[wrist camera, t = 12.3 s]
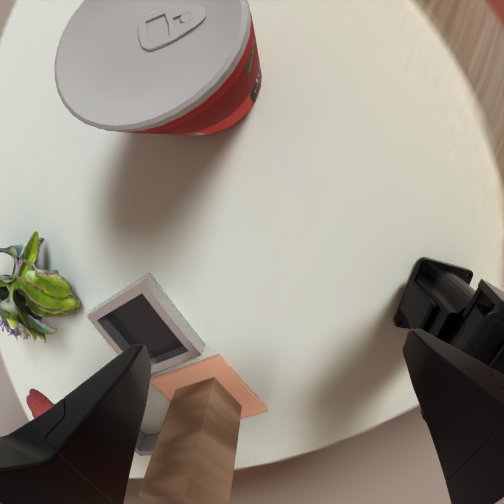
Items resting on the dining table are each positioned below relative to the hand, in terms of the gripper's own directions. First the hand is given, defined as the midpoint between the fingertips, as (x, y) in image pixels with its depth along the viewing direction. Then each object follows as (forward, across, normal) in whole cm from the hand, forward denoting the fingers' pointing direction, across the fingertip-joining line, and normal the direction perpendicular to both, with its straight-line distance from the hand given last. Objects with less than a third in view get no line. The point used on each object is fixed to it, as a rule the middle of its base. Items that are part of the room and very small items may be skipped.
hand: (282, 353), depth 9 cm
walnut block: (+12, +6, +18) cm, 23 cm away
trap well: (+14, +11, +9) cm, 20 cm away
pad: (+13, +6, +18) cm, 23 cm away
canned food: (+14, +4, -10) cm, 18 cm away
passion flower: (+15, +23, +4) cm, 28 cm away
